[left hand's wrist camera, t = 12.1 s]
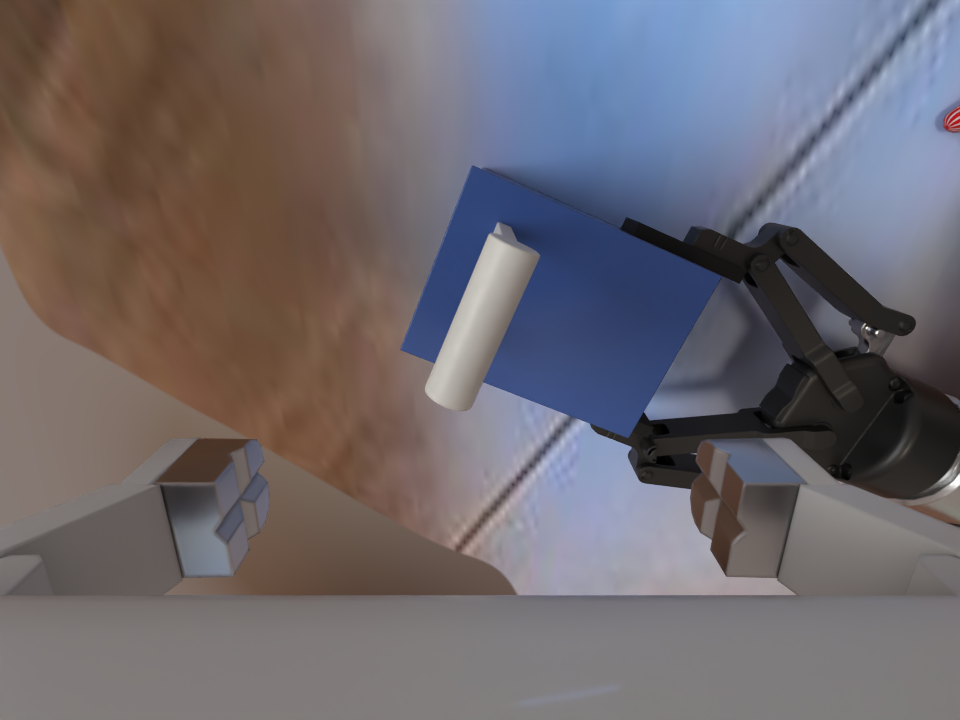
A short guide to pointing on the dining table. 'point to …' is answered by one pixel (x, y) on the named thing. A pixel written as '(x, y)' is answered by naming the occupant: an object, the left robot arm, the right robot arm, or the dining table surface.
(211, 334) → the dining table surface
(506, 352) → the lid
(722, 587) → the dining table surface
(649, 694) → the left robot arm
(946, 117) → the candy cane
